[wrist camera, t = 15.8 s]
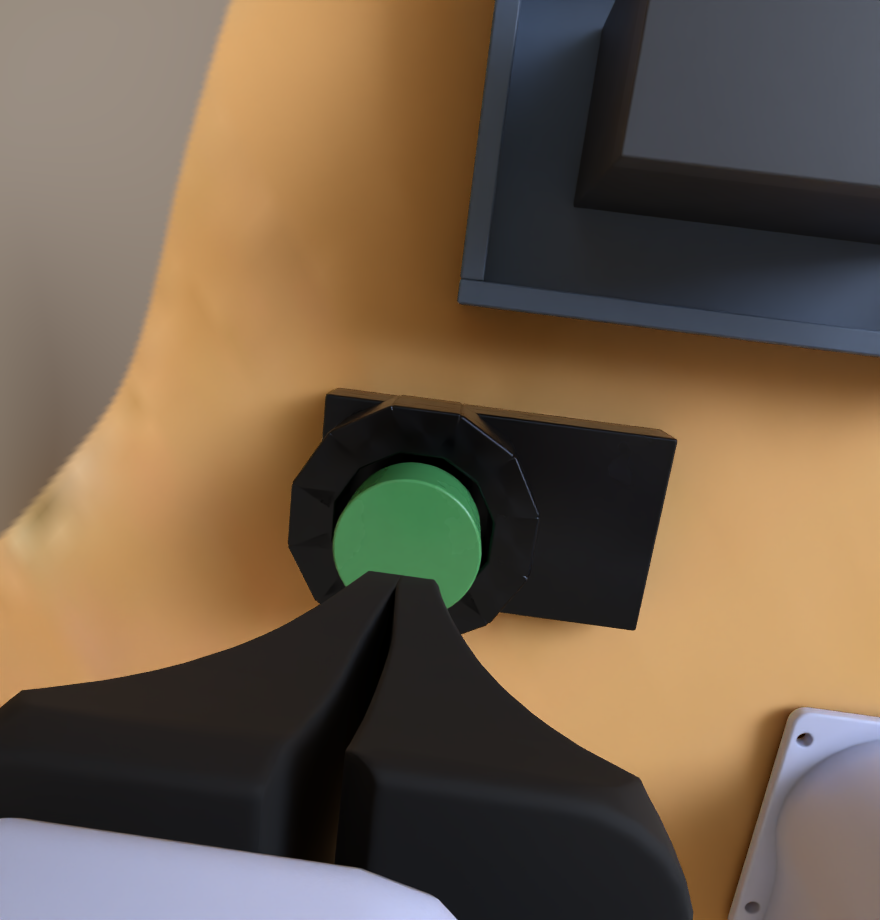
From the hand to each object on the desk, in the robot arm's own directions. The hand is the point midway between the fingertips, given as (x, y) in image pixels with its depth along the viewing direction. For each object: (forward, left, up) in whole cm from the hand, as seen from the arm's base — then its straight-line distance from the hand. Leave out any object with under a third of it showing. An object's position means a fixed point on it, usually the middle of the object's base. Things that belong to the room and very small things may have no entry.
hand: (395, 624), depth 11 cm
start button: (0, 0, -5) cm, 5 cm away
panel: (0, -2, -8) cm, 8 cm away
